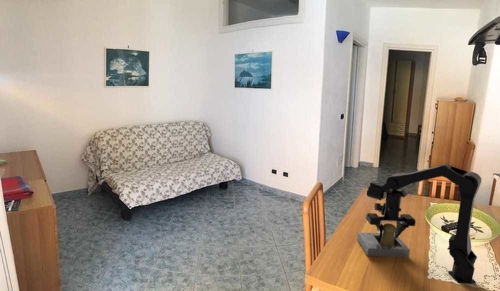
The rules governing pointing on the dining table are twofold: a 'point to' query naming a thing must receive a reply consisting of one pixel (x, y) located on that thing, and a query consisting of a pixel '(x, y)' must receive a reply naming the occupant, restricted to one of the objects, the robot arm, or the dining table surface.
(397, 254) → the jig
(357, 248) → the dining table surface
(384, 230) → the olive pawn
